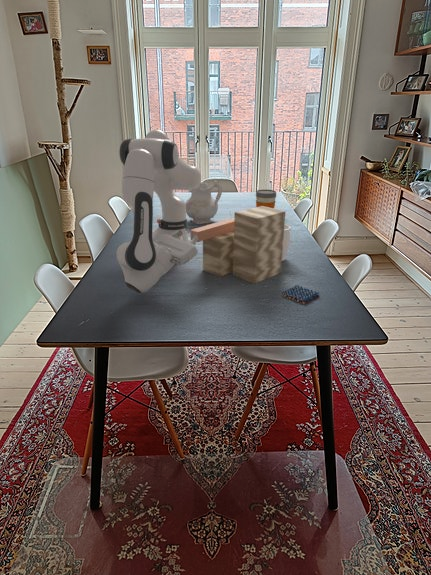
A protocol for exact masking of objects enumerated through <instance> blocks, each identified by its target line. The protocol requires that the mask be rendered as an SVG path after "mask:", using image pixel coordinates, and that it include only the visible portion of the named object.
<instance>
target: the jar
mask: <svg viewBox="0 0 431 575" xmlns="http://www.w3.org/2000/svg"><path fill="white" fill-rule="evenodd" d="M291 229H292V228H291V226H290V225H288V224H285V225H284V237H283V250H282V262H283V261H286V260H287V258H286V257H287V256H286V255H287V254H288V251H289V247H290V244H291V242H290V241H291V233H290V231H291Z"/></svg>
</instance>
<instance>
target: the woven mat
mask: <svg viewBox="0 0 431 575" xmlns="http://www.w3.org/2000/svg"><path fill="white" fill-rule="evenodd" d="M281 297H284V298H286V299H289V300H292V301H294V302H297V303H299V304H302V305H305V304H308V303H309V302H310V301H313V299H315V298H317V297H320V292H317V291H316V290H313V289H310V288H307V287H305V286H304V287H303V286H302V285H298V284H297V285H294V286H293V287H291V288H289V289H287V290H285V291H282V293H281Z"/></svg>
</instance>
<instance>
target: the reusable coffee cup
mask: <svg viewBox="0 0 431 575" xmlns="http://www.w3.org/2000/svg"><path fill="white" fill-rule="evenodd" d="M255 197H256V200H255V206H256V207H260V206H265V207H269V208H273V209H275V207H276V198H277V191H276V190H273V189H257V190H256V192H255Z"/></svg>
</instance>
